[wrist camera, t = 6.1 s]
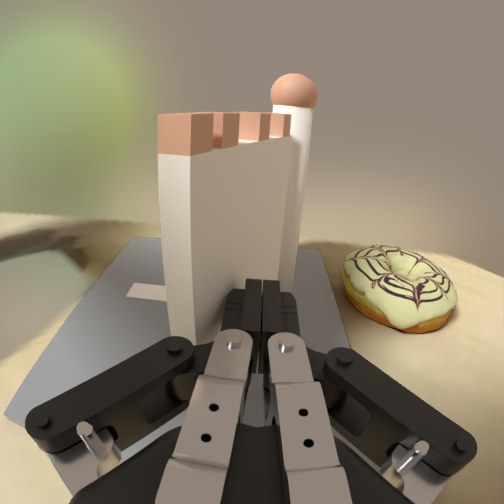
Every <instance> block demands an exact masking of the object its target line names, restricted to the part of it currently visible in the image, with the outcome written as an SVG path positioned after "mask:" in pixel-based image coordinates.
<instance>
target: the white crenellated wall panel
mask: <svg viewBox="0 0 504 504" xmlns="http://www.w3.org/2000/svg"><path fill="white" fill-rule="evenodd" d="M290 127H291V114H281V113H268V112H262V113H256V112H234V113H228V112H195V113H194V112H193V113H174V114H173V113H172V114H158V182H159V209H160V228H161V243H162V256H163V268H164V279H165V289H166V299H167V308H168V316H169V324H170V332H171V336H181V337H184V338H187V339H188V340H190V341H191V342H192V344H193V346H194V345H202V344H207V343H210V342H212V341H213V340H215V337H216V336H217V335H218V334H219V333H220V331H221V326H222V320H223V315H224V310H225V305H226V299H227V295H228V293H229V292H230V291H231V290H232V289H233V288H235V289H245V282H246V278H249V279H262V287H263V279H264V280H277V279H278V270H279V261H280V252H281V243H282V234H283V225H284V215H285V205H286V195H287V185H288V174H289V163H290V152H291V140H292V136H291V135H290ZM187 409H188V408H187Z"/></svg>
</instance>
